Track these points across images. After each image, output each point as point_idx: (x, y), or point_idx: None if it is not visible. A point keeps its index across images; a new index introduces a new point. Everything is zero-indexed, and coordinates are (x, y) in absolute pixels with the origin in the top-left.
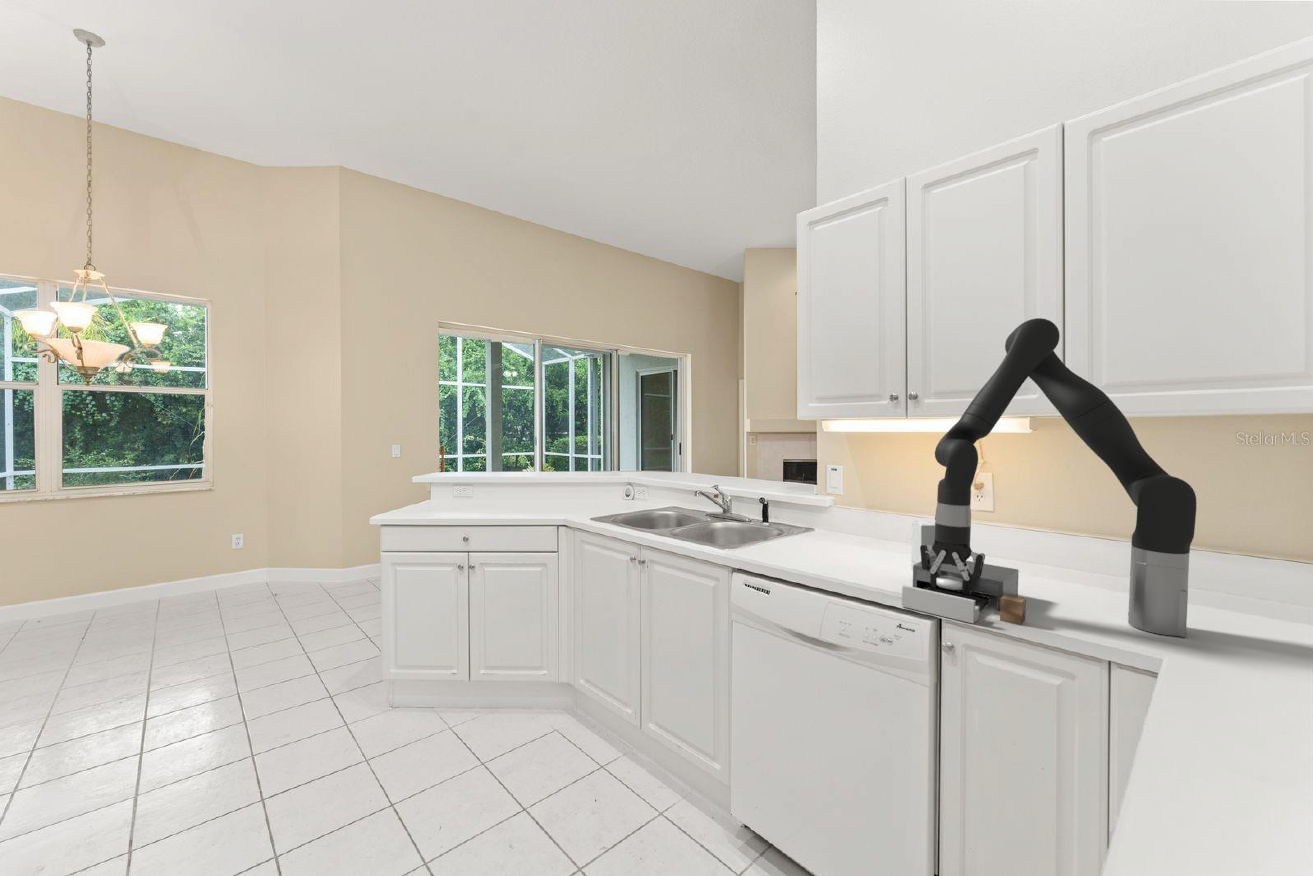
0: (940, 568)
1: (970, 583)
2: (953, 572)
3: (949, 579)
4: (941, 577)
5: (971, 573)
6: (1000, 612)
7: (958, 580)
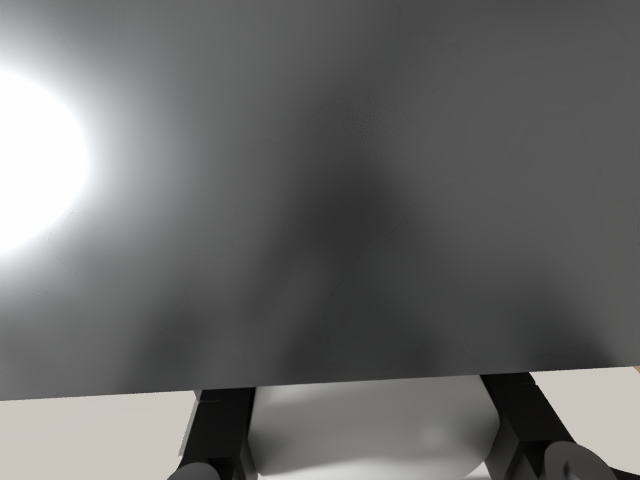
0: (117, 313)
1: (548, 424)
2: (359, 372)
3: (365, 453)
4: (288, 452)
5: (621, 240)
6: (637, 370)
7: (442, 435)
